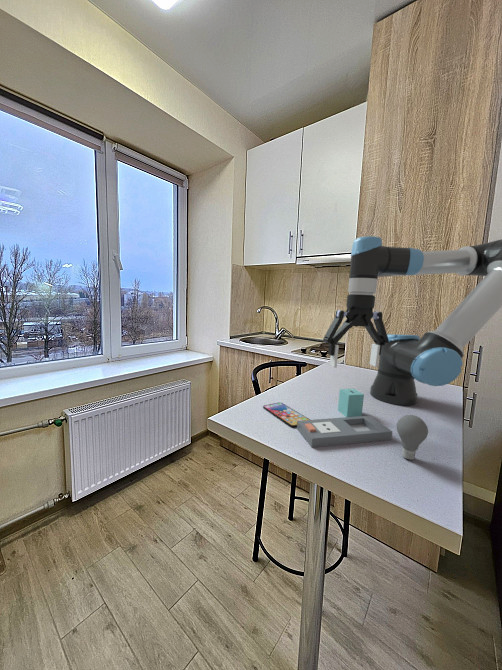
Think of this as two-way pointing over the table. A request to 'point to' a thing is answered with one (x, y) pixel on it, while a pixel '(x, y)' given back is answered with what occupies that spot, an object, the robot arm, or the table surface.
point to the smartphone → (285, 414)
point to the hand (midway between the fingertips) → (353, 366)
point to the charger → (350, 402)
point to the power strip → (342, 431)
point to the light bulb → (411, 434)
